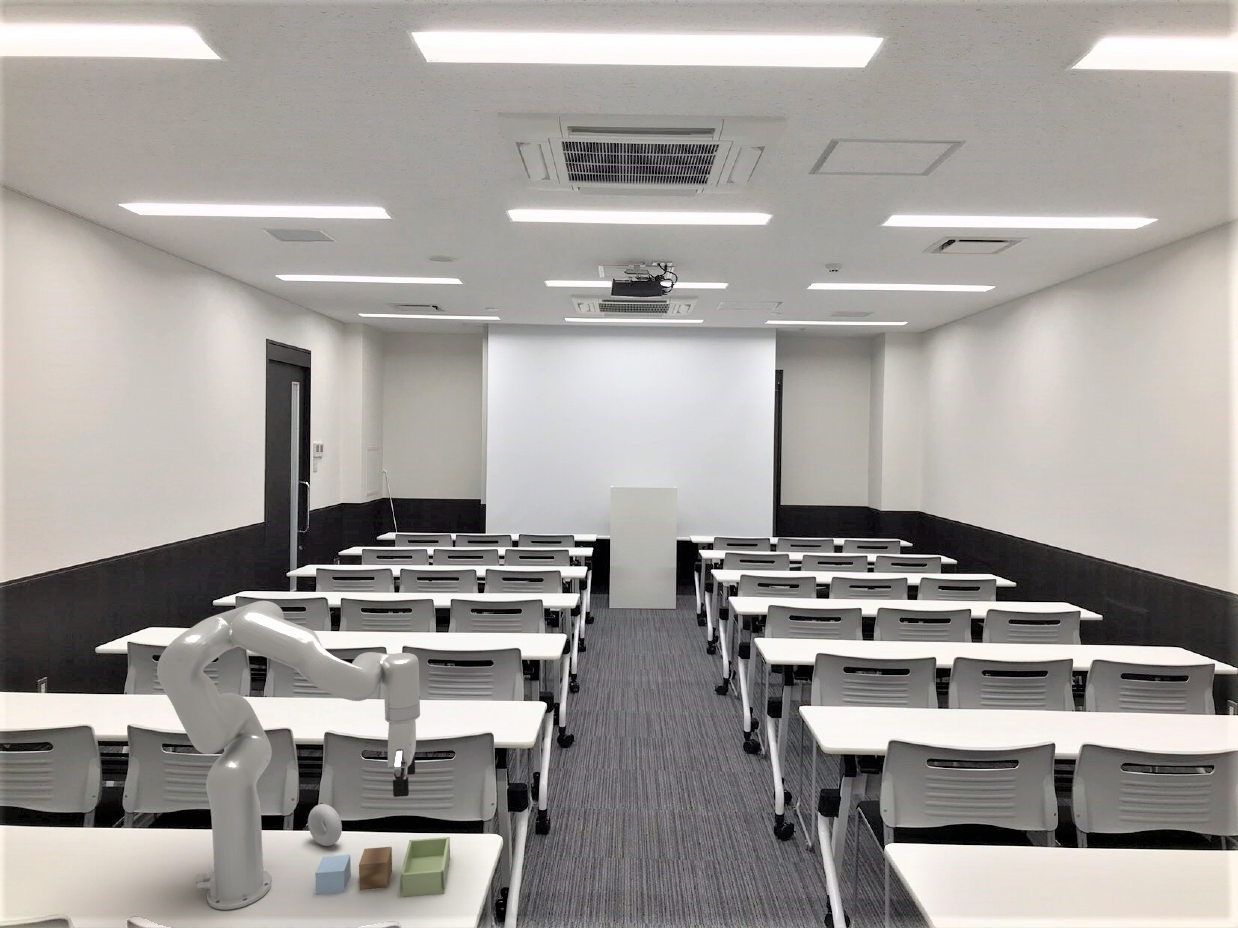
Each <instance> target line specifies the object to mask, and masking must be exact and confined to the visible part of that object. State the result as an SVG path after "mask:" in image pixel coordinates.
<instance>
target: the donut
mask: <svg viewBox="0 0 1238 928" xmlns="http://www.w3.org/2000/svg"><path fill="white" fill-rule="evenodd" d="M307 824H308V825H307V826H308V831H309V832H310V835H311V837H312V838H313V840H314V841H316V842H317V844H319V845H321V846H324V847H330V846H333V845H335V844H336V843H337V842H338V841H339V840H340V838H341V835H342V831H343V829H342V828H343V825H342V820H341V816H340V815H339V814H338V812H337V810H335V808H334V807H332V806H331V805H329V804H325V803H320V804H317V805H315V806H313V808H312V809H311V810H310V812H309V814H308V818H307Z"/></svg>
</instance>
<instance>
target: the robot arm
mask: <svg viewBox="0 0 1238 928" xmlns="http://www.w3.org/2000/svg"><path fill="white" fill-rule="evenodd" d="M284 615H285V614H284V611H283V610H282V608H281V607H280V606H279V605H278V604H276V603H275V602H272V601H268V600H258V601H254V602H252V603H249V604H246V605H243V606H240V607H237V608H234V609H231V610H228V611H225V612H221V613H219V614H214V615H213V616H212V615H211V616H210V617H207V618H205V619H203V620H201V621H200V622H198V623H196V624H195V625H194V626H192V627H190V628H189V629H186V630H185V631H184V632H182V633H181V634H180V635H178V636H177V637H176V638H174V640H172V641H171V642H170V644H169V645H167V646H166V648H165V649H164V650H163V652H162V653H161V655H160V657H159V659H158V662H157V668H156V673H157V674H156V675H157V680H158V682H159V683H160V686H161V688H162V689H163V690H162V691H164V692H165V694H166V696H167V698H168V699H169V701H170V703H171V705H172V707H173V709H174V711H175V713H176V716H177V718H178V719H179V721H180V723H181V725H182V727H183V729H184V731H185V733H186V735H187V737H188V738H189V741H190V743H191V744H192V746H193V747H194V748H195V749H196V750H197V751H198V752H200V753H201V754H205V755H214V754H216V753H218V752H220V751H222V750H224V751H223V752H222V754H221V755H219V756H218V758H217V759H216V760H215V762H214V763H213V764H212V766H211V768H210V769H209V772H208V773H207V776H206V777H207V778H206V782H205V789H206V794H207V798H208V801H209V807H210V816H211V830H212V849H213V850H212V851H213V853H212V854H213V870H214V871H212V873H211V872H210V873H197V874H196V877H195V881H194V882H195V885H196V889H197V890H205V889H208V891H207V895H206V898H207V899H206V900H207V903H208V905H209V906H210V907H211V908H214V909H217V910H223V911H224V910H225V911H226V910H227V911H228V910H235V909H239V908H243V907H246V906H249V905H251V904H253V903H255V902H257V901H259V900H260V899H261V898H262V897H264V896H265V895H266V894H267V892H268V891H270V889H271V887H272V883H273V881H272V876H271V874H270V873H269V872H267V871H266V870H264V860H263V859H264V858H263V855H264V854H263V835H262V832H263V831H262V813H261V812H262V809H261V802H260V798H259V794H258V791H257V783H258V780H259V779H260V777H261V776H262V774H263V773H264V771H265V770H266V768H267V767H268V766H269V763H270V762H271V759H272V753H273V752H272V751H273V750H272V745H271V743H270V740H269V738H268V736H267V734H266V732H265V730H264V727H263V726H262V724H261V722H260V720H259V718H258V716H257V714H256V713H255V710H254V708H253V707H252V705H251V703H250V702H249V701H248V700H247V699H246V698H245V697H244V696H241V694H237V693H234V692H224V693H221V694H220V693H219V691H218V687H217V686H216V684H215V683H214V681H213V680H212V678H210V677H209V676H208V675H207V674H206V673H205V672H204V669H205V668H206V667H207V666H208V665H209V664H211V663H212V662H213V661H214V660H216V659H217V658H219V657H220V656H221V655H222V654H223V653H225V652H227V651H229V650H232V649H235V648H237V647H238V648H239V647H240V648H241V649H243V650H246V651H249V652H252V653H254V654H256V655H259V656H262V657H264V658H266V659H267V658H268V659H270V660H273V661H275V662H278V663H280V664H283V665H285V666H288V667H289V668H290V667H291V668H292V669H295V671H297V672H298V673H299V674H300V675H301V676H302V677H303V678H304V680H307V682H309V683H310V684H312V685H313V686H314V687H316V688H318V689H320V691H321V690H322V691H324V692H325V693H328V694H330V695H333V696H336V697H338V698H341V699H344V700H347V701H352V702H353V701H354V702H361V701H367V699H369V698H371V697H372V696H373V695H374V694H375V693H376V691H377V689H378V688H379V686H383V690H384V691H383V694H384V695H383V696H384V699H383V700H384V720H385V722H387V723H388V730H387V732H388V733H387V767H388V768H393V774H392V775H393V776H392V791H393V792H392V796H393V797H394V798H398V797H408V796H409V794H410V793H409V792H410V791H409V789H410V787H409V784H410V783H409V776H408V775H415V774H416V758H415V757H416V756H415V752H416V747H417V744H416V743H417V726H416V725H417V723H416V722H417V721H416V720H418V719H419V718H420V716H421V697H420V693H421V692H420V663H419V659H418V656H417V655H415V654H414V653H409V652H398V653H394V654H392V653H381V652H374V651H371V652H370V651H369V652H368V651H367V652H362V653H361V654H358V655H357V657H355V658H354V659H353V660H352V663H351V662H348V661H345V660H343V659H341V658H338V657H336V655H335V656H334V655H333V654H331V653H330V652H329V651H327V650H326V649H325V648H324V646H323V644H322V643H321V641H320V638H319V637H318V634H317V633H316V632H315V631H314V630H312V629H310V628H307V627H305V626H302V625H300V624H297V623H294V622H291V621H289V620H287V619H285V616H284Z"/></svg>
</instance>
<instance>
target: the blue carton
mask: <svg viewBox="0 0 1238 928" xmlns="http://www.w3.org/2000/svg"><path fill="white" fill-rule="evenodd" d="M351 867H352V866H351V854H341V855H339V854H338V855H327V856H322V857H321V859H320V862H319V864H318V867H317V869H316V871H315V874H314V875H315V894H316V895H323V894H325V895H327V894H336V893H345V892H346V889H347V887H348V884H349V882H350V880H351V879H350V878H351V876H352V869H351Z"/></svg>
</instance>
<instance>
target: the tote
mask: <svg viewBox="0 0 1238 928" xmlns="http://www.w3.org/2000/svg"><path fill="white" fill-rule="evenodd" d="M450 840H451V839H450V836H446V837H445V836H444V837H435V838H433V837H432V838H430V837H429V838H421V839H419V838H417V839H409V841H408V844H407V847H406V852H405V856H404V860H403V864H402V867H401V871H400V874H399V875H400V876H399V877H400V879H399V880H400V882H399V883H400V897H401V898H406V897H414V896H415V897H416V896H417V897H418V896H427V895H428V896H429V895H438V894H439V895H441V894H445V890H446V884H447V880H448V879H447V877H448V871H449V867H450V859H451V848H450V847H451V845H450V844H451V841H450Z"/></svg>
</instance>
